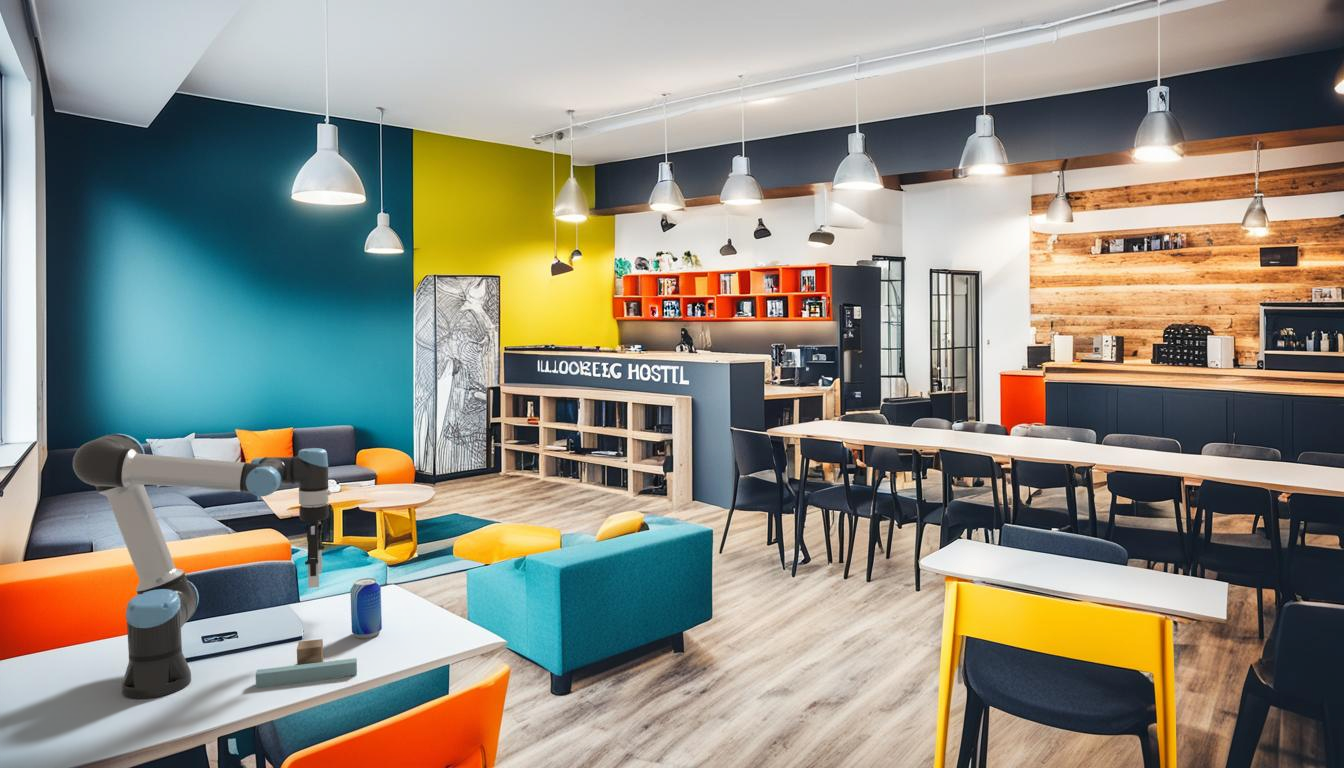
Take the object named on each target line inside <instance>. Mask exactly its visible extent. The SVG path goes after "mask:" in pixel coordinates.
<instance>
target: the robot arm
mask: <svg viewBox="0 0 1344 768" xmlns="http://www.w3.org/2000/svg"><path fill="white" fill-rule="evenodd" d="M297 453H298V454H297V456H292V457H291V456H281V457H280V456H279V457H278V456H277V457H276V456H275V457H273V456H272V457H268V456H264V457H255V458H253V459H252V460H251V461H250V462H240V461H229V460H218V459H205V458H193V457H185V456H184V457H182V456H173V455H172V456H171V455H159V454H148V453H147V454H145V449H144V447H143V445H142V444H141V443H140V442H139V440H138V439H136V438H135V437H133V436H131V435H129V434H123V433H110V434H105V435H103V436H101V437H99V438H96V439H94V440H93V439H92V440H90V441H87V442H85V443H84V444H82V445H81V446H80V447H79V448H78V449H77V450H76V451H75V453H74V456H73V458H72V469H73V471H74V473H75V475H76V476H77V478H79V480H80V481H82V482H83V483H85V484H88V485H90V486H95V488H96V491H97V493H98V494H99V495H103V496H105V497H107V499H108V502H109V505H110V507H111V510H112V513H113V515H114V518H115V520H116V523H117V525H118V528H119V530H120V533H121V536H122V538H123V541H124V543H125V545H126V548H127V551H128V554H129V556H130V559H131V561H132V564H133V566H134V568H135V572H136V574H137V576H138V577H137V578H138V579H139V582H138V584H137V586H136V588H135V591H136V595H135V596H134V597H132V598H131V599H130V600H129V601H128V603H127V605H126V611H125V620H126V630H127V649H128V663H127V667H126V671H125V673H124V677H123V679H122V683H121V689H122V690H121V693H122V695H123V696H124V697H126V698H130V699H151V698H157V697H162V696H166V695H169V694H172V693H176V692H177V691H180V690H182V689H185V687H187V686H188V685H189V684H190V683H191V682H192V673H191V669H190V667H189V665H188V663H187V660H186V658H185V656H184V653H183V649H182V648H183V647H182V646H183V645H182V644H183V643H182V627H183V626H184V625H185V624H186V623H187V622H188V621H189V620H190V619H191V618H192V617H193V616H194V614H195V612H196V610H197V609H198V608H197V607H198V604H199V600H200V597H199V595H200V594H199V592H198V588H197V587H196V586H195V585H194V583H193V582H191V581H189V580H188V579H187V576H186V573H185V571H184V570H183V569H181V568H177V567H176V565H175V563H174V561H173V557H172V556H171V555H172V554H171V553H170V550H169V548H168V544H167V542H166V539H165V536H164V535H163V532H162V528H161V526H160V523H159V521H158V519H157V516H156V513H155V511H154V508H153V506H152V503H151V500H150V498H149V494H148V493H147V490H146V487H145V485H146V486H159V487H170V488H171V487H173V488H186V489H197V490H199V489H200V490H212V491H214V490H215V491H225V492H226V491H227V492H238V493H239V492H241V493H249V494H251V495H254V496H255V497H259V498H260V497H267V496H270V495H272V494H273V493H275V492H277V490H278V489H280V488H279V487H280V486H281V485H298V504H299V505H300V506H299V510H298V511H299V519H300V520H301V521H304V522H308V524H306V527H305V529H306V530H305V532H306V542H307V560H305V561H304V565H307V588H308V589H309V588H311V589H312V588H319V587H320V574H322V573H323V556H322V553H323V552H322V551H323V550H325V545H323V542H322V535H323V523H321V521H323V520H326V519H328V518H329V515H330V511H329V510H330V509H329V508H330V506H329V504H328V503H329V496H331V494H332V493H331V491H329V462H328V461H329V460H328V452H327V450H326V449H323V448H321V447H320V448H317V447H312V448H302V449H299V450H298V452H297Z"/></svg>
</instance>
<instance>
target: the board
mask: <svg viewBox="0 0 1344 768" xmlns="http://www.w3.org/2000/svg"><path fill="white" fill-rule="evenodd" d="M357 661H358V658H357V657H355V658H353V657H352V658H345V659H338V660H328V661H323V662H319V663H311V664H302V665H297V664H296V665H286V666H279V667H277V666H276V667H269V668H268V667H267V668H261V669H260V668H259V669H256V672H255V688H265V687H273V686H274V687H275V686H280V685H289V684H297V683H305V682H313V681H321V680H322V679H323V680H328V679H327V678H331V679H336V678H335V677H339V678H344V677H343V676H347V677H352V676H351V675H355V676H357V675H358V666H357V665H358V662H357Z"/></svg>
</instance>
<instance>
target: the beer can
mask: <svg viewBox="0 0 1344 768" xmlns="http://www.w3.org/2000/svg"><path fill="white" fill-rule="evenodd" d="M350 615H351V617H350V618H351V622H350V623H351V633H352V634H353V635H354V637H355V638H357V639H370V638H374V637H376V636H378V635H379V634H380V632H381V630H382V629H383V624H382V620H383V619H382V589H381V585H380V584H379V582H378V580H377V578H374V577H363V578H359V579H356V580H354V581H353V584H352V587H351V588H350Z"/></svg>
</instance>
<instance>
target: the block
mask: <svg viewBox="0 0 1344 768" xmlns="http://www.w3.org/2000/svg"><path fill="white" fill-rule="evenodd" d="M323 642H324V641H323V638H321V639H319V638H318V639H311V640H301V641H298V642H297V643H298V644H297V646H296V665H302V664H311V663H319V662H324V645H323V644H324V643H323Z"/></svg>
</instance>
